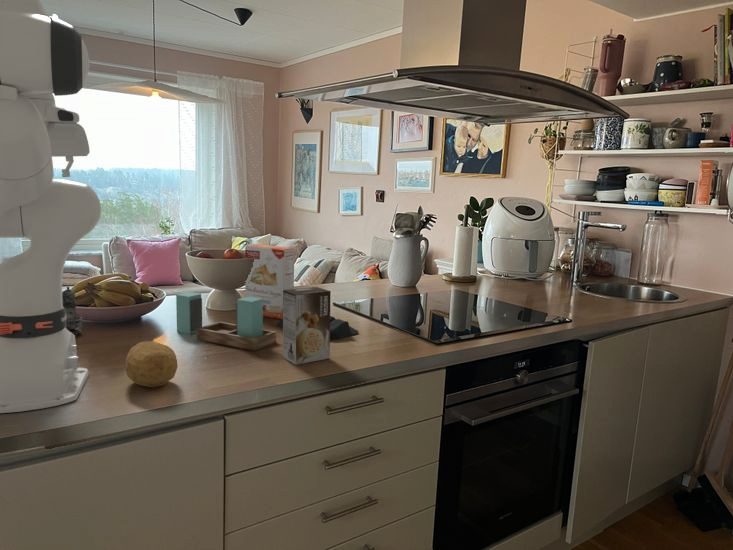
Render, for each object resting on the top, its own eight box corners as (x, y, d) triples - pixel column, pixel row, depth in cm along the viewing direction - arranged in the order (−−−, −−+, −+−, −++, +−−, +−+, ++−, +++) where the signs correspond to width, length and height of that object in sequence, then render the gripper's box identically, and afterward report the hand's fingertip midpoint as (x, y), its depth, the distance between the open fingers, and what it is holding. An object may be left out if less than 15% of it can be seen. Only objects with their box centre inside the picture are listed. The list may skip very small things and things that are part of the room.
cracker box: (243, 313, 167) (244, 244, 163) (256, 310, 172) (256, 243, 169) (282, 320, 161) (283, 249, 157) (294, 316, 166) (295, 247, 163)
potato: (166, 369, 117) (166, 332, 115) (187, 391, 105) (187, 350, 104) (117, 377, 111) (115, 338, 110) (133, 400, 100) (132, 358, 99)
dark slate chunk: (315, 319, 165) (316, 304, 165) (363, 336, 149) (363, 319, 148) (271, 326, 155) (271, 310, 155) (316, 345, 139) (317, 327, 138)
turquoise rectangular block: (262, 337, 138) (262, 298, 137) (251, 341, 134) (251, 301, 133) (246, 334, 140) (246, 296, 139) (235, 338, 136) (235, 299, 135)
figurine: (52, 333, 139) (49, 286, 137) (73, 328, 145) (71, 283, 143) (66, 337, 137) (64, 289, 135) (88, 331, 142) (86, 285, 140)
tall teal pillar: (203, 331, 147) (202, 294, 145) (191, 334, 143) (190, 297, 141) (189, 328, 149) (188, 291, 147) (176, 332, 145) (176, 294, 143)
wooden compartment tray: (276, 342, 139) (276, 331, 139) (255, 350, 132) (255, 339, 131) (219, 331, 147) (219, 321, 146) (197, 338, 139) (196, 328, 139)
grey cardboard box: (316, 351, 133) (317, 286, 130) (330, 359, 128) (332, 290, 125) (281, 357, 127) (282, 289, 125) (295, 365, 122) (296, 294, 120)
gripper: (-25, 112, 113) (-13, 180, 116) (86, 114, 124) (93, 176, 127) (-23, 113, 118) (-13, 179, 122) (83, 115, 129) (90, 175, 132)
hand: (42, 177), depth 124 cm, fingers open, 8 cm apart
